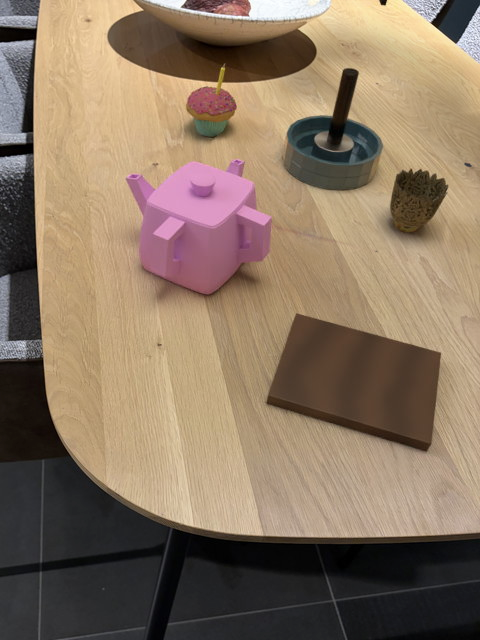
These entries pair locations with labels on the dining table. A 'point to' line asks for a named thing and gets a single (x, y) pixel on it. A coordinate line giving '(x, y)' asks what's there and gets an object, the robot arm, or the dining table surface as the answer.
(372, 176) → the bowl
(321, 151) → the handled rubber stamp
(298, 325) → the board
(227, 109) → the cupcake
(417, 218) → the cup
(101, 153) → the dining table surface
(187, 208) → the teakettle
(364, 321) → the dining table surface
